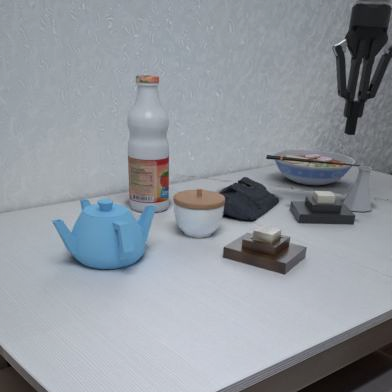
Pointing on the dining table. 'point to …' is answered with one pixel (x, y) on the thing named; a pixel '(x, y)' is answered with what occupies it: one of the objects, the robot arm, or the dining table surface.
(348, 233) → the dining table surface
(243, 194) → the dark slate chunk
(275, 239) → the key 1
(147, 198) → the fruit juice
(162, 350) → the dining table surface
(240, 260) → the block
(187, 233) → the trinket box
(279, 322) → the dining table surface
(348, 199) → the flask
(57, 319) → the dining table surface
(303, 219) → the block
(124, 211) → the teapot
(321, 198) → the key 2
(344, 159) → the ramen bowl
